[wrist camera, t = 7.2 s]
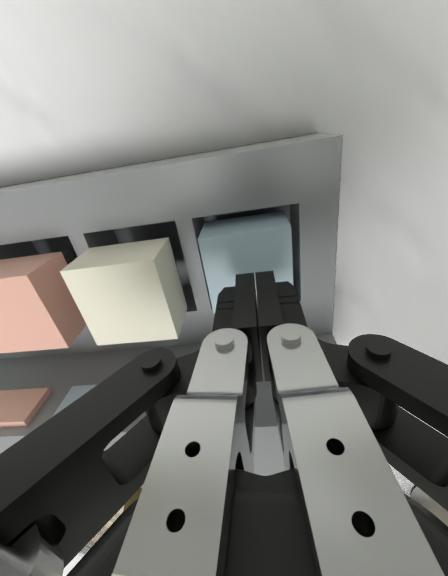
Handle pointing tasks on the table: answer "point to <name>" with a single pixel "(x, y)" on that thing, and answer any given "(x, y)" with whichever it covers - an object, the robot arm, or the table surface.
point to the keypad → (184, 240)
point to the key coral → (37, 304)
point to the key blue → (245, 249)
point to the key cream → (128, 291)
